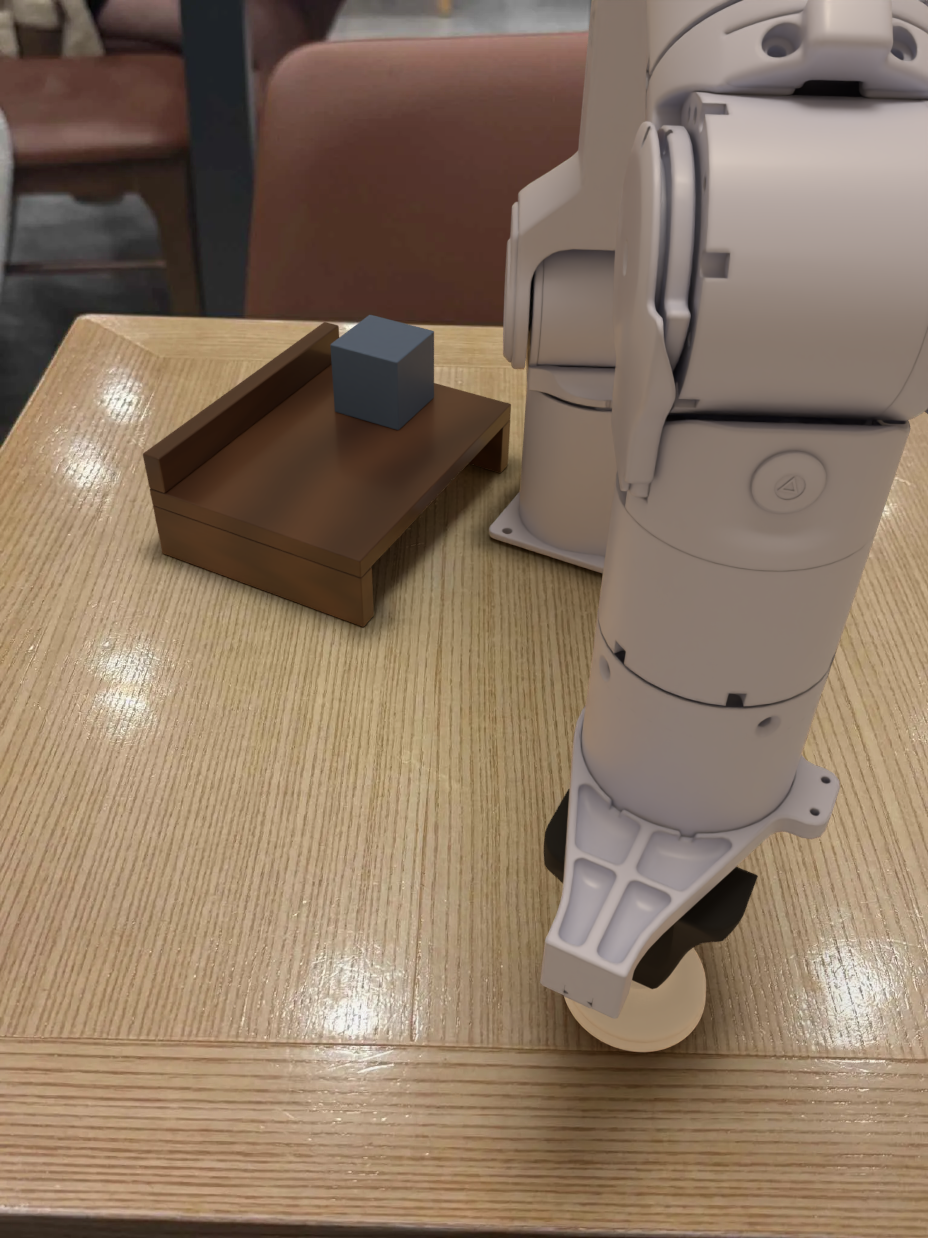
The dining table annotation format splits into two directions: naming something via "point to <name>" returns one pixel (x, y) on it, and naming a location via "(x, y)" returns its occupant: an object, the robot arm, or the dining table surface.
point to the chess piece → (652, 1011)
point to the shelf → (310, 479)
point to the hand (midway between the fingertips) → (643, 937)
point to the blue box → (383, 371)
